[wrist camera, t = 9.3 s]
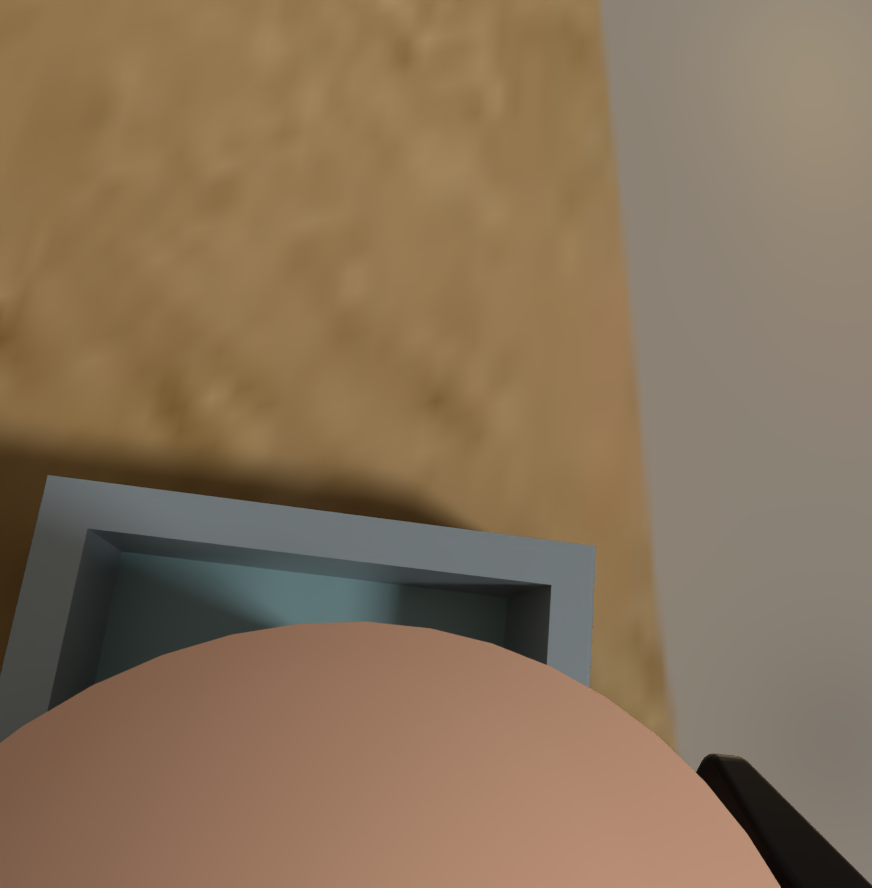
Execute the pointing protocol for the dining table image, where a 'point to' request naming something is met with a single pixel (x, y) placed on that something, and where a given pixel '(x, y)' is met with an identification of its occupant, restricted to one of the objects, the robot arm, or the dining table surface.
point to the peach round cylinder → (356, 775)
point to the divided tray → (265, 584)
